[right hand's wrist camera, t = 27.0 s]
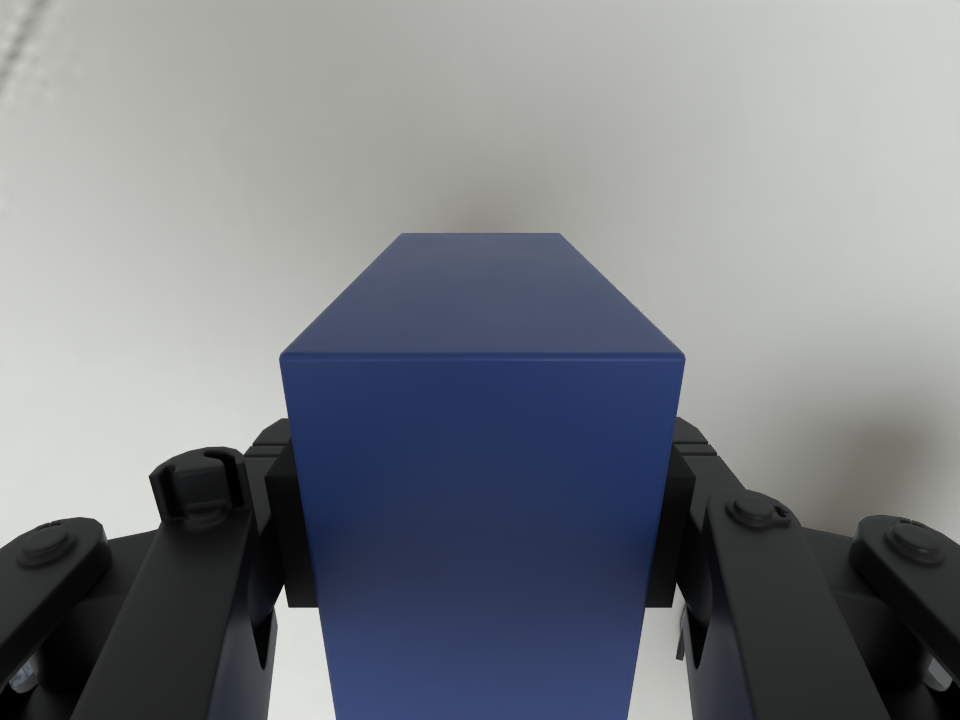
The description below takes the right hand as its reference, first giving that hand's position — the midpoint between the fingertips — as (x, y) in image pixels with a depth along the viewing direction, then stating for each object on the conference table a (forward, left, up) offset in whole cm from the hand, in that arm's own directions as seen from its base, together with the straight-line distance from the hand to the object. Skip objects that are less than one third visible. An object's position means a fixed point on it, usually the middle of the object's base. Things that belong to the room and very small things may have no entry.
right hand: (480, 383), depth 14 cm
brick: (0, 0, -4) cm, 4 cm away
